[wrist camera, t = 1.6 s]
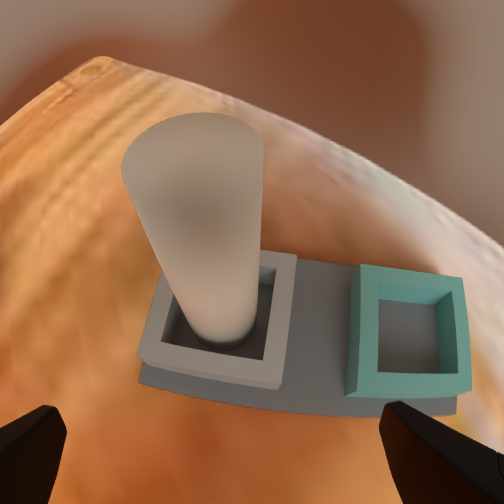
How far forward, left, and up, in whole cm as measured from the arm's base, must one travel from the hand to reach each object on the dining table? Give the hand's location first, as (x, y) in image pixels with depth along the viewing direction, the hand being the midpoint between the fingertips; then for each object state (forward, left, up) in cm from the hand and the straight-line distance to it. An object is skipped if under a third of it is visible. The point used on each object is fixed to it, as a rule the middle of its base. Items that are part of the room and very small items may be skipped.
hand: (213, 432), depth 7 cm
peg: (+4, +7, -12) cm, 14 cm away
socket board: (+8, +2, -13) cm, 15 cm away
